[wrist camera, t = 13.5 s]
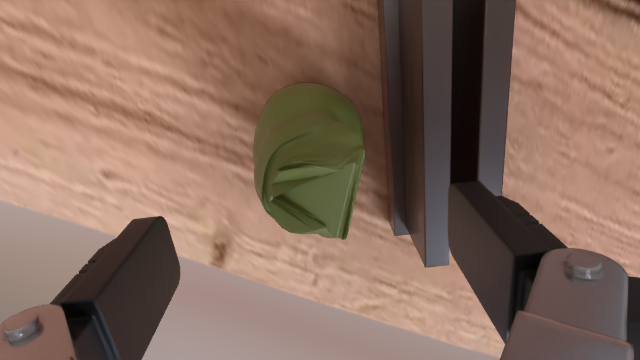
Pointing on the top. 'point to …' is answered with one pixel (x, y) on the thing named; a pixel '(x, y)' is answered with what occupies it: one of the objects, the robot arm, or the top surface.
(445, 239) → the holder
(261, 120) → the pear
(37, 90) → the top surface
